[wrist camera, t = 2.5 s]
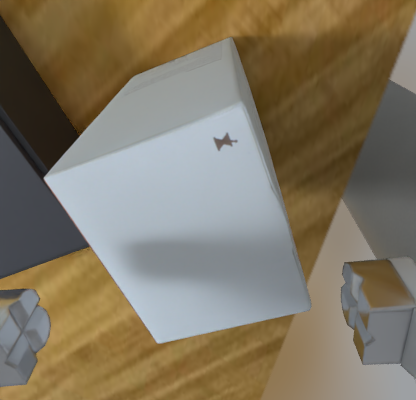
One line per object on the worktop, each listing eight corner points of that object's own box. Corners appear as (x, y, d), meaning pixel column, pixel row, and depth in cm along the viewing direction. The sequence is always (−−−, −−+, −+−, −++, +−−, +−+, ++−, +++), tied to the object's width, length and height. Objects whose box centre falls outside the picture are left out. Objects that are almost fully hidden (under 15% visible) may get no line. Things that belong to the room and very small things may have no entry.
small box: (131, 75, 21) (33, 174, 10) (232, 33, 20) (248, 95, 9) (184, 187, 25) (155, 349, 14) (272, 159, 24) (318, 312, 13)
